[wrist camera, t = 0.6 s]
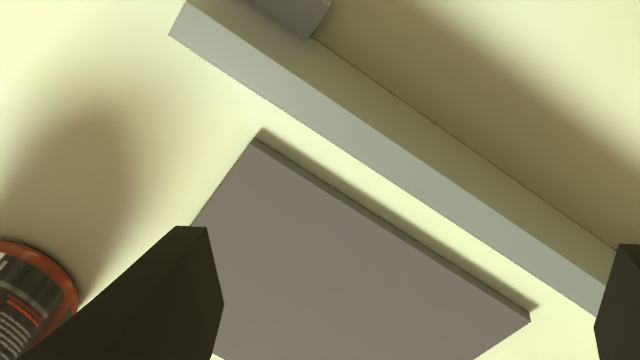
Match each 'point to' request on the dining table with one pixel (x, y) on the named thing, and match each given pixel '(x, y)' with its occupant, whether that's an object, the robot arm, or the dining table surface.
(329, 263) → the mat
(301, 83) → the low wall
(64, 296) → the supplement bottle
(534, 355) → the dining table surface
